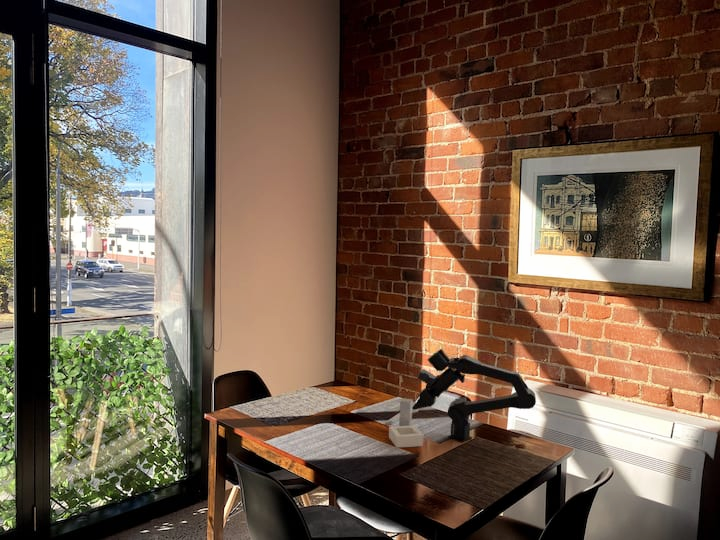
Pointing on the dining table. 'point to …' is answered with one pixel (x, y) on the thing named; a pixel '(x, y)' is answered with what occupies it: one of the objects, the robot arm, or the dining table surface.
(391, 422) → the adjustable wrench
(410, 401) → the steel peg
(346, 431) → the dining table surface
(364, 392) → the dining table surface
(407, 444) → the socket block
